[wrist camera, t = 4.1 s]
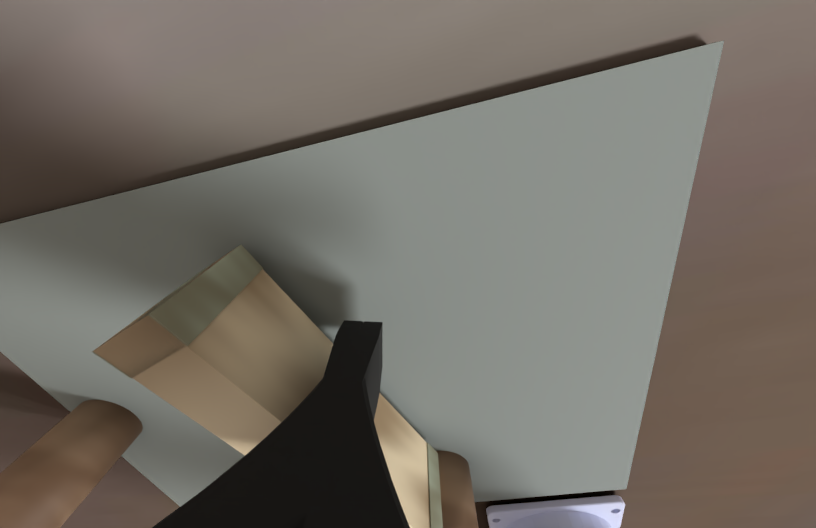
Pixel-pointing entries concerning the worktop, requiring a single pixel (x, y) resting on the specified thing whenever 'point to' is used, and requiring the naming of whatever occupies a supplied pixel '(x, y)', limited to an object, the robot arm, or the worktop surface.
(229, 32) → the worktop surface
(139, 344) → the cream long bar
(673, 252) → the mat
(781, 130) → the worktop surface
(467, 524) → the brown grey short cylinder
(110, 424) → the latch post
